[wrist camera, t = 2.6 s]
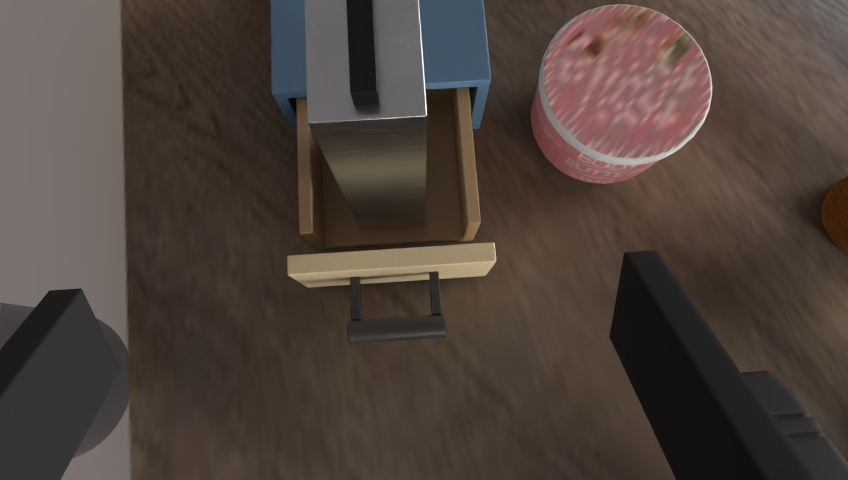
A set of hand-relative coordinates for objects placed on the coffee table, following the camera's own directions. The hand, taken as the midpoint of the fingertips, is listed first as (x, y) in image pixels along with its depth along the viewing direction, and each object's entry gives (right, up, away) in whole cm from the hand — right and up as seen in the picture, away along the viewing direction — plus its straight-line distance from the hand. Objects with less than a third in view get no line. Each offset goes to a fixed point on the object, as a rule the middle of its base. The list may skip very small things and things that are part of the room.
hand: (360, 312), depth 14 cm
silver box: (-1, +6, +25) cm, 26 cm away
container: (+14, +10, +28) cm, 33 cm away
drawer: (-1, +3, +26) cm, 26 cm away
